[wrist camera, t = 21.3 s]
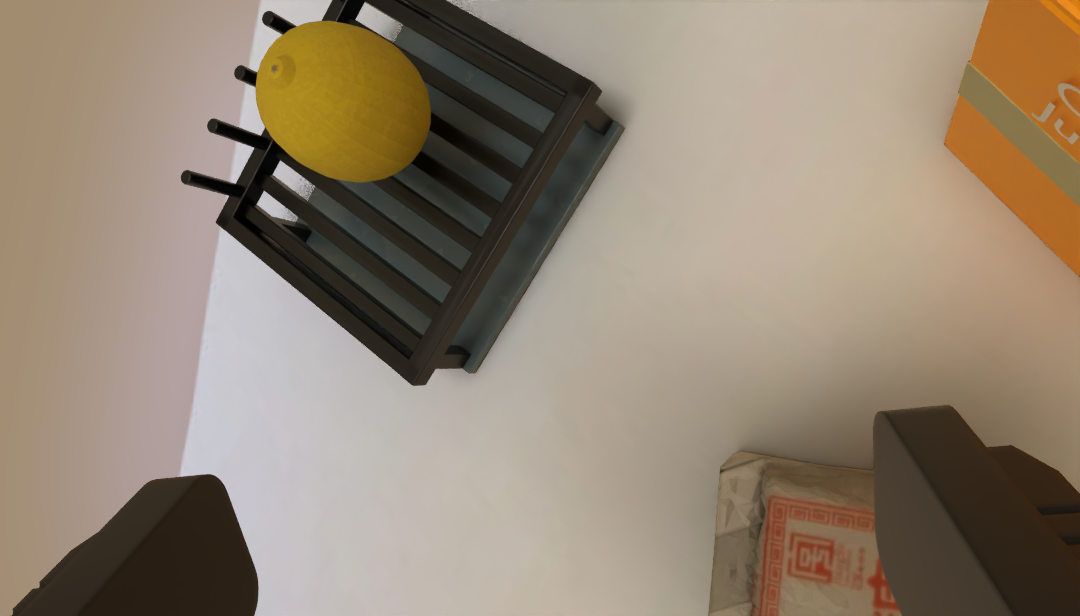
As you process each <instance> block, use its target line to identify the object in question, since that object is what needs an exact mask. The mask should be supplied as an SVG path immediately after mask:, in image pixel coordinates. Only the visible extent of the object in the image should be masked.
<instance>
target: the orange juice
mask: <svg viewBox="0 0 1080 616" xmlns="http://www.w3.org/2000/svg"><path fill="white" fill-rule="evenodd" d="M958 93H959V94H960V95H959V98H958V101H957V104H956V107H955V110H954V113H953V117H952V120H951V123H950V126H949V129H948V132H947V135H946V139H945V142H944V145H945V146H946V147H947V148H948V149H949V150H950V151H951V152H952V153H953V154H954V155H955V156H957V157H958V158H959V159H960V160H961V161H962V162H963V163H964V164H965V165H966V166H967V167H968V168H969V169H970V170H971V171H972V172H973V173H974V174H975V175H976V176H977V177H978V178H979V179H980V180H981V181H982V182H983V183H984V184H985V185H986V186H987V187H988V188H989V189H990V190H991V191H992V192H993V193H994V194H995V195H996V196H997V197H998V198H999V199H1000V200H1001V201H1003V202H1004V203H1005V204H1006V205H1007V206H1008V207H1009V208H1010V209H1011V210H1012V211H1013V212H1014V213H1015V214H1016V215H1017V216H1018V217H1019V218H1020V219H1021V220H1022V221H1023V222H1024V223H1025V224H1026V225H1027V226H1028V227H1029V228H1030V229H1031V230H1032V231H1033V232H1034V233H1035V234H1036V235H1037V236H1038V237H1039V238H1040V239H1041V240H1042V241H1043V242H1044V243H1045V244H1046V245H1047V246H1049V247H1050V248H1051V249H1052V250H1053V251H1054V252H1055V253H1056V254H1057V255H1058V256H1059V257H1060V258H1061V259H1062V260H1063V261H1064V262H1065V263H1066V264H1067V265H1068V266H1069V267H1070V268H1071V269H1072V270H1073V271H1074V272H1075V273H1076V274H1077V275H1078V276H1079V277H1080V0H989V3H988V6H987V10H986V13H985V16H984V19H983V22H982V25H981V28H980V32H979V35H978V38H977V41H976V44H975V47H974V50H973V54H972V57H971V60H969V61H968V62H967V65H966V68H965V72H964V75H963V78H962V81H961V85H960V88H959V91H958Z"/></svg>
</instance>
